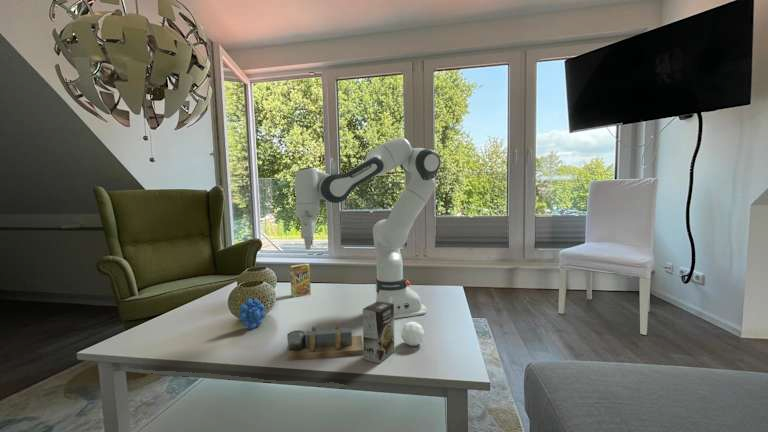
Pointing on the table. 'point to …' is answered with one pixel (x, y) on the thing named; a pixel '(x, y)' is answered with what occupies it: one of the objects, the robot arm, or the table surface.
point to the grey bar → (318, 338)
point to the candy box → (300, 280)
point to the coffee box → (378, 331)
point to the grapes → (251, 313)
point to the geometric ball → (412, 333)
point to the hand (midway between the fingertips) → (309, 247)
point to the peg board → (328, 349)
